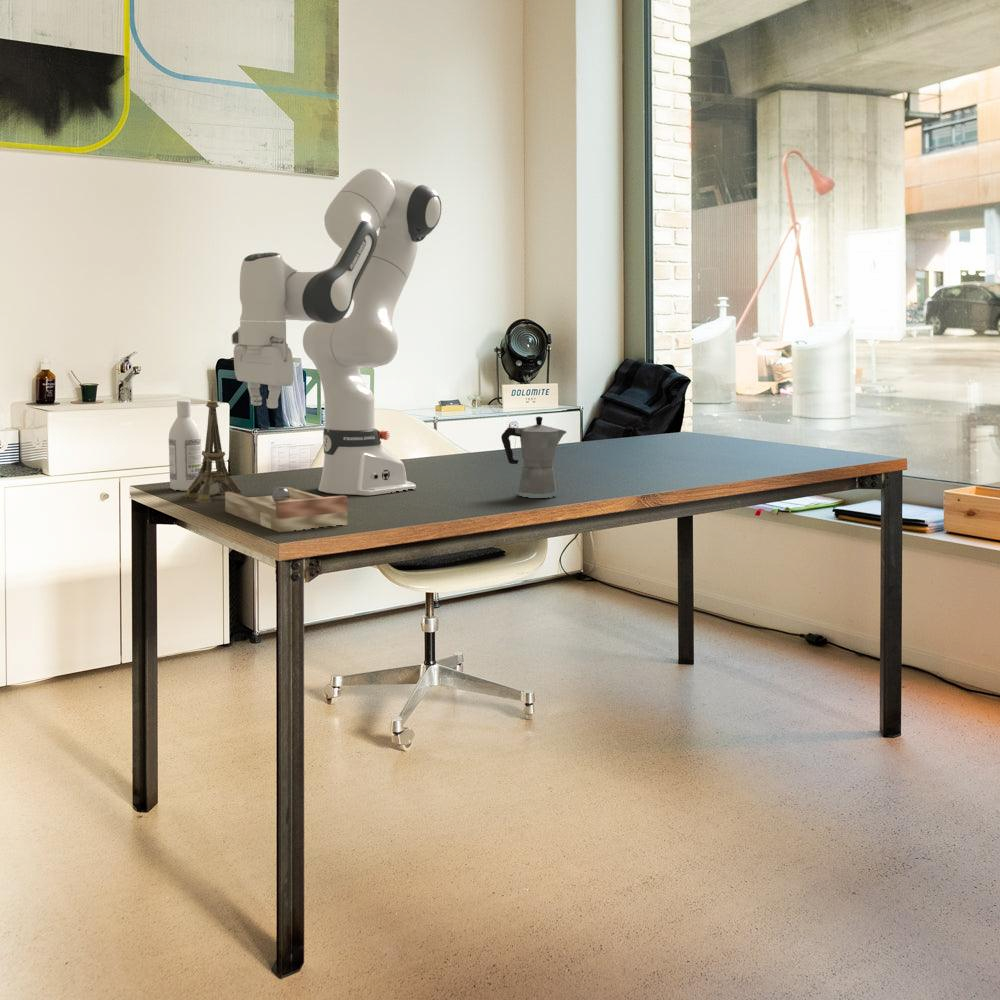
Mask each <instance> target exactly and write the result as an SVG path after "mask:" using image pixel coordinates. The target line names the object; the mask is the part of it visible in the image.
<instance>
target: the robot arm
mask: <svg viewBox="0 0 1000 1000" xmlns="http://www.w3.org/2000/svg"><path fill="white" fill-rule="evenodd" d="M441 215H442V202H441V198H440V195H439V193H438V192H437V191H436V190H435V189H433V188H431V187H429V186H426V185H424V184H420V185H419V184H417V183H414V182H410V181H406V180H404V179H403V180H402V179H399V178H396V179H393V178H391V177H390V176H389V175H387V174H386V173H385V172H384V171H381V170H380V169H377V168H365V169H363V170H361V171H360V172H359V173H357V174H356V175H355V176H354V177H352V178H350V180H348V182H346V184H345V185H344V186H343V187H342V188H341V189H340V191H339V192H338V193H337V194H336V196H335V197H334V199H332V201H331V202H330V203H329V205H328V207H327V209H326V212H325V214H324V217H323V219H324V227H325V231H326V232H327V235H328V236H329V238H330V239H331V241H333V242H334V244H335V245H337V247H339V248H340V249H341V250H340V252H339V253H338V255H337V257H336V259H335V260H334V263H333V264H332V265H331V267H329V268H327V269H324V270H323V269H322V270H320V271H306V272H305V271H298V270H297V269H295V268H293V267H291V266H290V265H288V263H286V262H285V261H284V259H283V257H282V254H280V253H278V252H263V253H261V252H260V253H259V252H258V253H253V254H249V255H247V256H246V257H244V259H243V261H242V262H241V267H240V274H239V301H240V303H241V315H240V319H239V327H238V328H237V329H236V330H235V331H234V332H233V333H232V334H231V344H232V345H234V348H233V367H234V375H235V378H236V381H239V382H245V383H247V390H248V393H249V396H250V405H252V406H261V405H263V401H262V400H263V397H262V396H261V392H260V388H261V385H267V390H268V398H266V407H267V408H268V409H277V408H278V407H279V398H280V394H281V392H282V387H291V386H292V385H293V383H294V381H295V373H294V360H293V352H292V350H291V348H290V347H289V344H288V343H287V320H288V321H289V320H290V321H302V322H303V321H307V322H311V323H310V324H309V325H308V326H307V327H306V329H305V331H304V333H303V336H302V347H303V350H304V352H305V354H306V356H307V357H308V358H309V359H310V360H311V362H312V363H313V364H314V366H315V368H316V370H317V374H318V376H319V379H320V383H321V386H322V390H323V397H324V420H325V421H324V424H325V425H324V426H325V427H324V428H323V432H322V433H323V440H322V445H323V446H322V447H323V453H324V457H323V466H322V473H321V477H320V478H321V479H320V482H319V485H318V489H317V490H318V491H319V492H323V493H327V494H336V495H357V496H375V495H383V494H384V495H385V494H391V492H392V493H397V492H396V491H399V492H404V491H403V490H406V491H409V490H408V489H413V490H416V489H417V485H416V483H414V482H412V481H408V480H407V473H406V467H405V465H404V462H403V461H402V460H401V459H400V458H398V457H397V456H396V455H395V454H393V453H392V452H391V451H390V450H388V449H387V448H386V447H385V446H383V444H382V441H381V440H384V441H387V440H389V438H390V436H391V435H390V432H389V431H388V430H380V431H379V430H378V429H376V428H375V396H374V393H373V391H372V389H370V388H369V387H368V386H367V385H366V383H365V381H364V379H363V376H362V373H361V369H373V368H378V367H382V366H385V365H386V366H387V365H388V364H389V363H391V362H392V361H393V360H394V358H395V357H396V355H397V351H398V347H399V340H398V336H397V333H396V331H395V329H394V327H393V316H394V311H395V308H396V305H397V303H398V301H399V299H400V296H401V294H402V292H403V290H404V287H405V285H406V283H407V281H408V279H409V276H410V275H411V271H412V270H413V269H412V268H413V266H414V263H415V260H416V256H417V251H418V242H421V241H424V239H425V238H426V237H427V236H428V235H429V234H431V233H432V232H433V231H434V229H435V228H436V227H437V225H438V223H439V222H440V219H441ZM377 231H379V232H378V233H377ZM352 301H353V306H352V307H353V309H352V311H351V312H350V314H349V315H348V316H347V317H345V316H346V314H348V311H349V309H351V305H352ZM415 488H416V489H415Z"/></svg>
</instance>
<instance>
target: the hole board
mask: <svg viewBox="0 0 1000 1000" xmlns="http://www.w3.org/2000/svg"><path fill="white" fill-rule="evenodd" d="M284 487H285V488H286V489H288V491H289V492H290V499H289V500H287V501H276V503H275V502H274V501H273V498H272V495H263V496H262V495H261V496H251V497H250V496H249V497H248V496H244V495H243V494H242V495H239V494H236V493H233V492H225V495H224V500H225V501H224V504H225V507H224V509H225V513H228V514H230V515H233V516H236V517H239V518H241V519H243V520H247V521H249V522H252V523H254V524H257V525H259V526H262V527H264V528H268V529H270V530H273V531H275V532H277V533H284V532H285V533H286V532H295V531H294V530H296V531H303V529H305V530H312V529H311V528H315V529H320V528H319V527H324V528H328V527H327V526H333V527H337V526H336V525H343V526H347V525H348V496H346V495H345V494H342V495H334V496H320V495H317V494H314V493H310V492H308V491H303V490H300V489H297V488H295V487H294V488H293V487H291V486H284Z"/></svg>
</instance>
